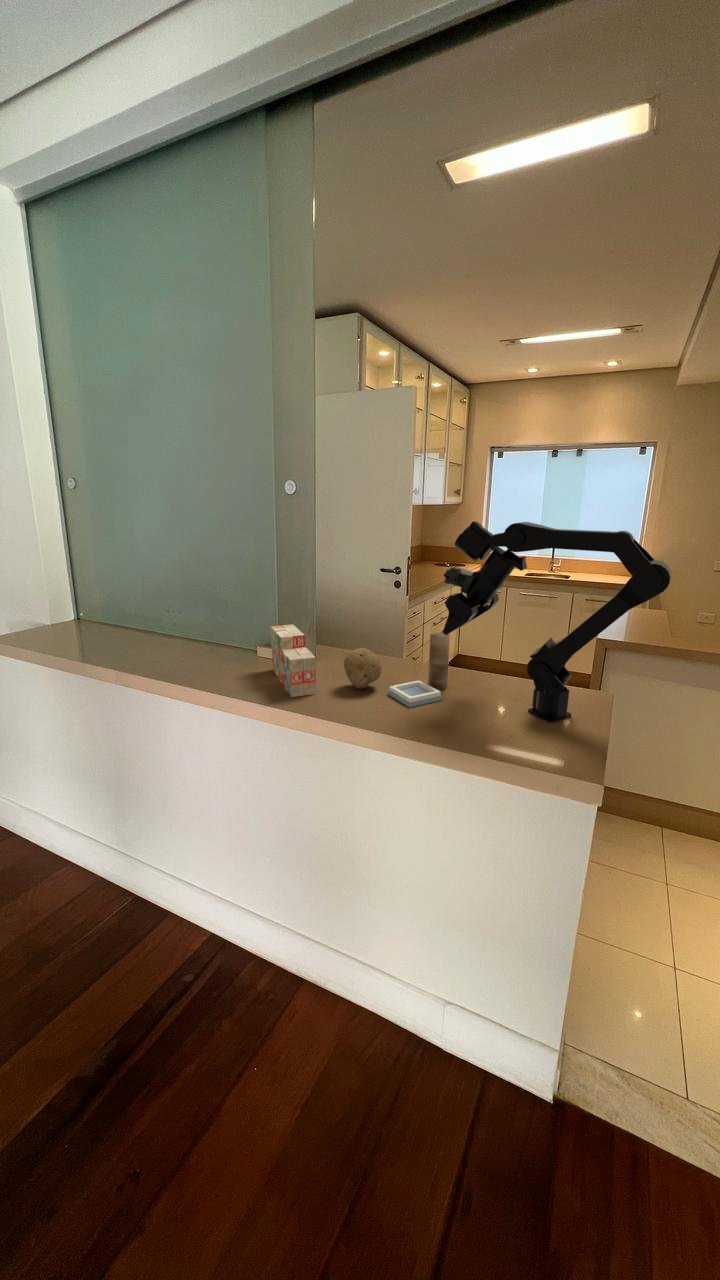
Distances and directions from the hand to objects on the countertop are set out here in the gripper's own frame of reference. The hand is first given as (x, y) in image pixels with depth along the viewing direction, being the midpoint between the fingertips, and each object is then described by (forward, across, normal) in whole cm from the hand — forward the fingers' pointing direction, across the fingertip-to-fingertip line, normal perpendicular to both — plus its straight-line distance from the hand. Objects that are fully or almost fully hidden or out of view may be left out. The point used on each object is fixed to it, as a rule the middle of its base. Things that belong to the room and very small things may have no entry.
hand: (452, 629), depth 117 cm
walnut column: (+15, -3, +5) cm, 16 cm away
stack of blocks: (+33, +13, -22) cm, 42 cm away
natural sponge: (+24, +8, -8) cm, 26 cm away
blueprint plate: (+16, +6, +4) cm, 18 cm away
